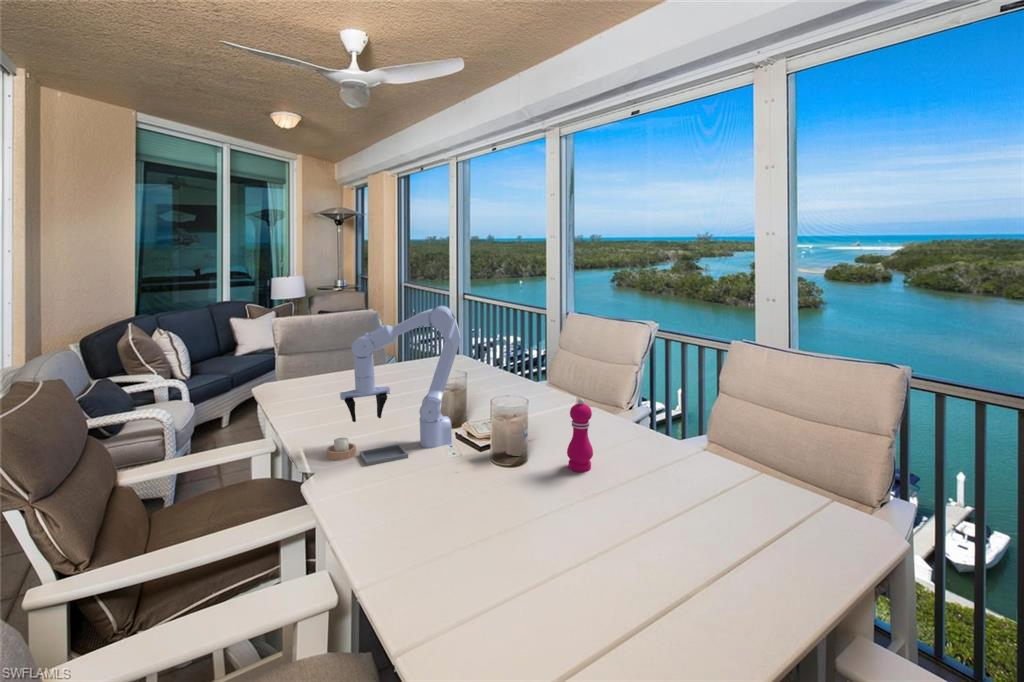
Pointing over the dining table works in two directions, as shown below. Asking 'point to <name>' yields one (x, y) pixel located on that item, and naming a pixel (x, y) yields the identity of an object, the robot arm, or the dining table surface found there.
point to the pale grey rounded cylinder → (341, 445)
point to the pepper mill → (580, 438)
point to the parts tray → (383, 455)
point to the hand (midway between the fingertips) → (366, 419)
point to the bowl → (341, 453)
